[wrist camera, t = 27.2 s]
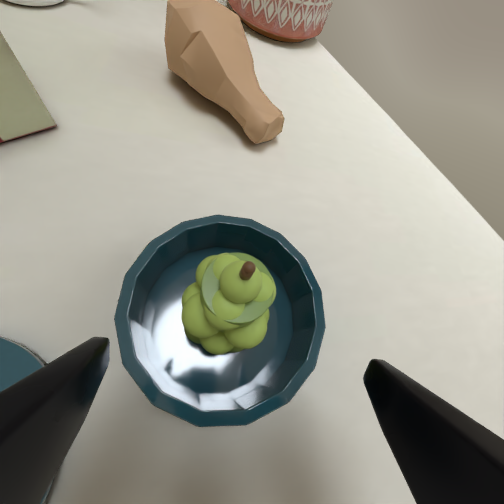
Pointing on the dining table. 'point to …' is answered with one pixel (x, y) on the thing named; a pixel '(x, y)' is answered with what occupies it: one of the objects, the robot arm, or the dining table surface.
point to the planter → (284, 17)
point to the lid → (17, 369)
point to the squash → (219, 63)
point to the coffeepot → (36, 2)
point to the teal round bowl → (193, 354)
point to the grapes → (228, 303)
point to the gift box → (19, 99)
